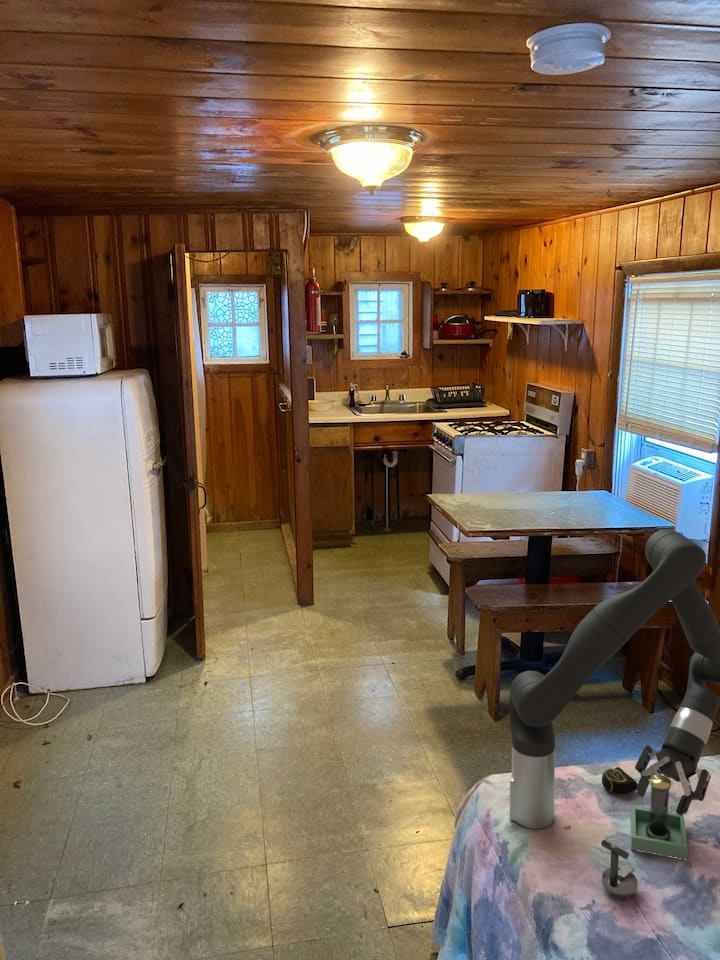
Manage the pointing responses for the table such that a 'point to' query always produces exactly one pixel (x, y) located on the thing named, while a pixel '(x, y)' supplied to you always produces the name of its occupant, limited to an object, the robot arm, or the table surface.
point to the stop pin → (659, 808)
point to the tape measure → (618, 781)
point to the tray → (667, 848)
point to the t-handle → (618, 874)
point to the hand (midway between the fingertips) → (659, 804)
